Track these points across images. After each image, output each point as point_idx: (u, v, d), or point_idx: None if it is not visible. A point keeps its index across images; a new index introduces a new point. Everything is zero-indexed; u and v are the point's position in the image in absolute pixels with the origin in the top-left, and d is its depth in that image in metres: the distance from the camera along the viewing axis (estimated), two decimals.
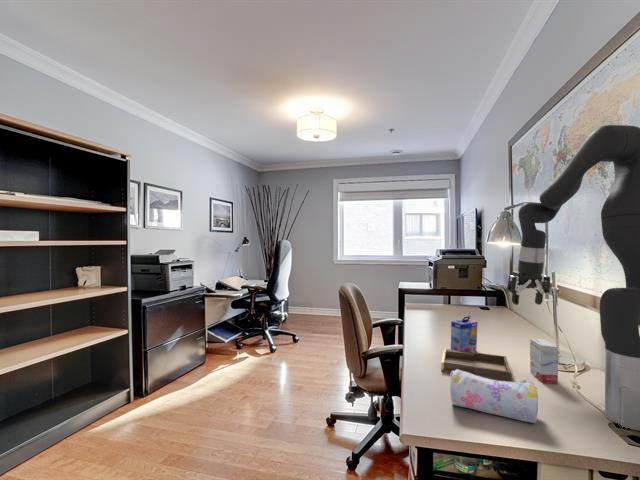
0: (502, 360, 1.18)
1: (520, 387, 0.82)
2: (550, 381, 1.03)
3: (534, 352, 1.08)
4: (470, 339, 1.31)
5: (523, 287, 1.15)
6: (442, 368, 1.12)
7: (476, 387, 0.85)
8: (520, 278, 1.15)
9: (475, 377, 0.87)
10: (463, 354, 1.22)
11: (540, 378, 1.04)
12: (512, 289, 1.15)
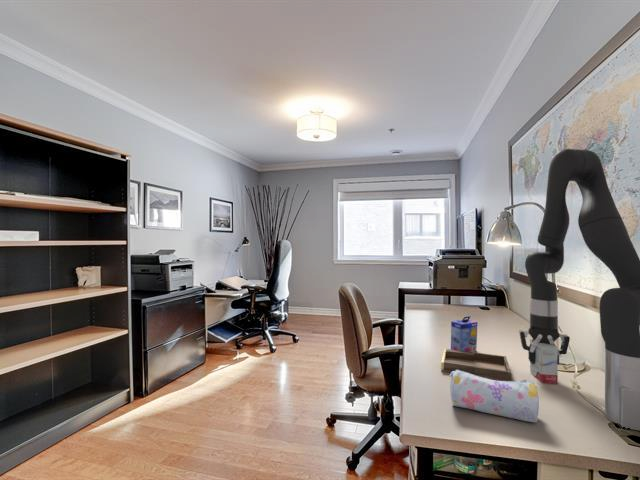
0: (502, 360, 1.18)
1: (521, 387, 0.82)
2: (550, 381, 1.03)
3: (534, 352, 1.08)
4: (470, 339, 1.31)
5: (535, 343, 1.07)
6: (442, 368, 1.12)
7: (477, 388, 0.85)
8: None
9: (475, 377, 0.87)
10: (463, 354, 1.22)
11: (540, 378, 1.04)
12: (523, 345, 1.09)
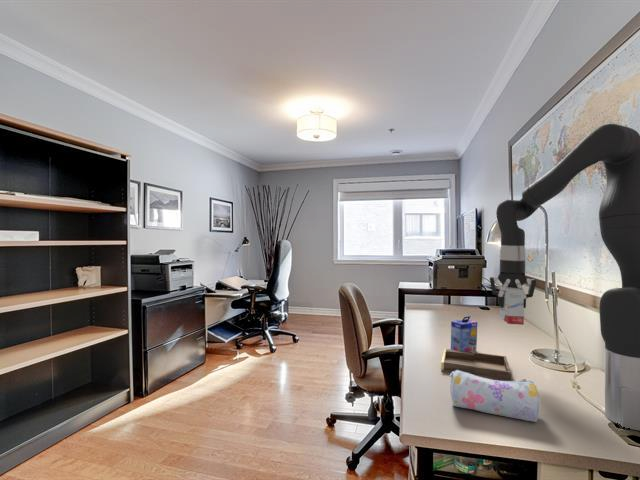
0: (502, 360, 1.18)
1: (521, 387, 0.83)
2: (516, 322, 1.07)
3: (503, 297, 1.13)
4: (470, 339, 1.31)
5: (503, 288, 1.11)
6: (442, 368, 1.12)
7: (477, 388, 0.84)
8: None
9: (476, 377, 0.87)
10: (463, 354, 1.22)
11: (507, 320, 1.09)
12: (493, 290, 1.13)
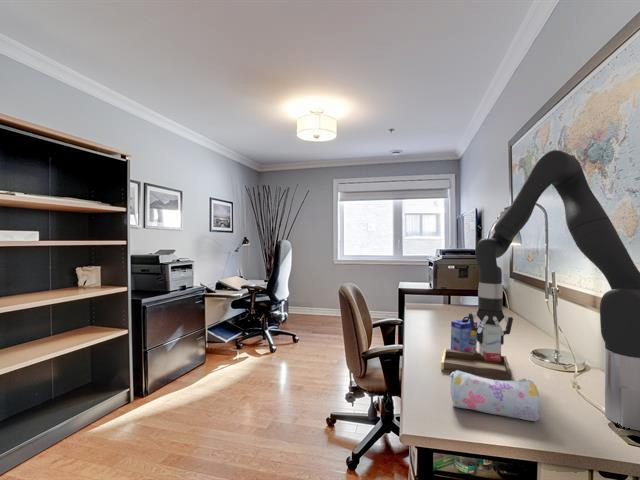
0: (502, 360, 1.18)
1: (521, 386, 0.83)
2: (494, 359, 1.10)
3: (481, 333, 1.15)
4: (470, 339, 1.31)
5: (482, 324, 1.13)
6: (442, 368, 1.12)
7: (478, 388, 0.84)
8: (477, 315, 1.15)
9: (476, 378, 0.87)
10: (463, 354, 1.22)
11: (485, 356, 1.11)
12: (472, 326, 1.15)
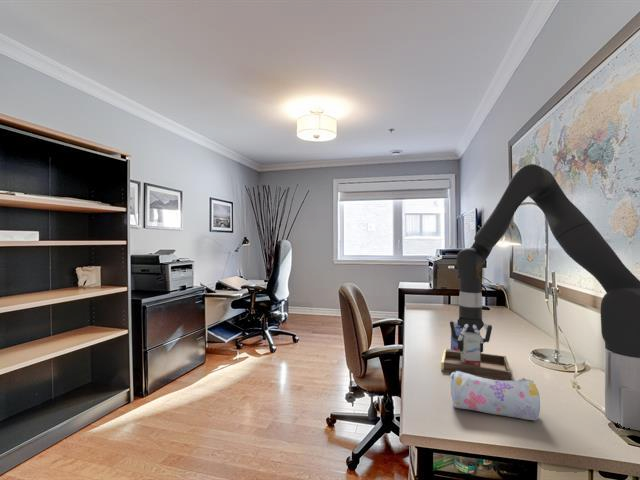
0: (502, 360, 1.18)
1: (521, 386, 0.83)
2: None
3: (462, 340, 1.18)
4: None
5: (462, 332, 1.16)
6: (442, 368, 1.12)
7: (479, 388, 0.84)
8: (457, 323, 1.17)
9: (476, 378, 0.86)
10: None
11: None
12: (452, 334, 1.18)
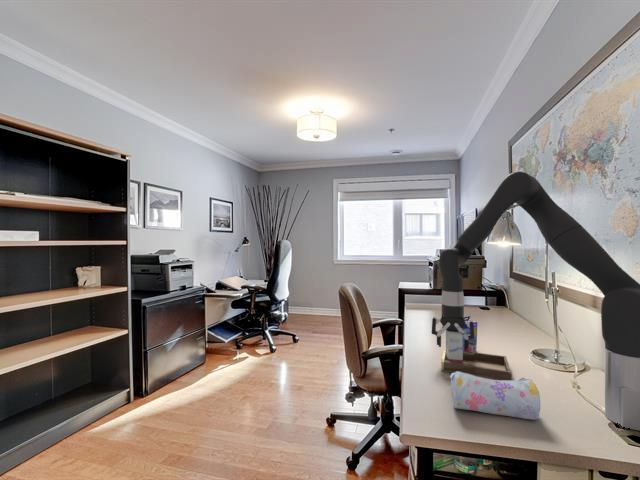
0: (502, 360, 1.18)
1: (521, 385, 0.83)
2: None
3: (446, 340, 1.20)
4: (470, 339, 1.31)
5: (442, 329, 1.18)
6: (442, 368, 1.12)
7: (480, 389, 0.84)
8: (440, 320, 1.19)
9: (477, 378, 0.86)
10: (463, 354, 1.22)
11: None
12: (432, 330, 1.20)
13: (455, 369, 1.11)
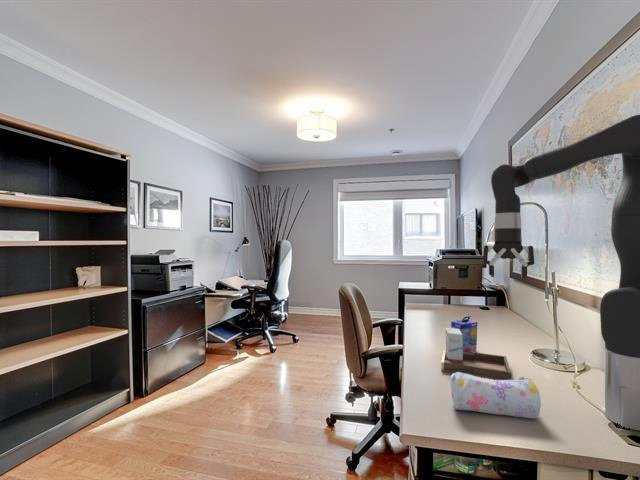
0: (502, 360, 1.18)
1: (521, 385, 0.84)
2: None
3: (446, 340, 1.20)
4: (470, 339, 1.31)
5: (496, 257, 1.05)
6: (442, 368, 1.12)
7: (481, 389, 0.84)
8: (493, 247, 1.06)
9: (477, 378, 0.86)
10: (463, 354, 1.22)
11: None
12: (484, 259, 1.07)
13: (455, 369, 1.11)
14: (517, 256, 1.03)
